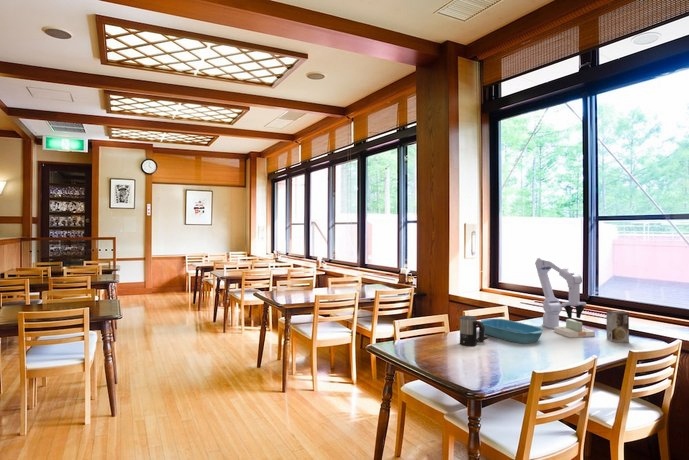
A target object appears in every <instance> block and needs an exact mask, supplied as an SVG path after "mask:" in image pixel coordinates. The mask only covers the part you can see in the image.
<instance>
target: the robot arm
mask: <svg viewBox="0 0 689 460" xmlns="http://www.w3.org/2000/svg"><path fill="white" fill-rule="evenodd" d="M534 265H535V268H536V270H537V271H536V272H537V276H538V278H539V281H540V284H541V287H542V291H543V295H544V298H545V299H544V300H543V301H542V304H543V305H542V308H543V311H544V313H543V315H542V324H541V326H543V327H545V328H547V329H550V330H552V329H553V330H554V327H560V314H561V312H562V311H563V308H564V310H565V312H566V315H567V319H572V316H573V310H574V307H575V312H576V313H575V315H576V316H575V317H576V318H577V319H581V315H582V313H583V311H584V309H585V306H586V307H587V302H585V301H580V296H581V295H580V293H581V291H580V289H581V288H580V285H581V284H582V282H583V278H582V276H581V275H580V274H575V272H572V271H571V270H570V269H569V268H567V267H562V266H561V265H559V263H558V262H556V260H555V259H554V258H553V257H538V258H536V261H535V264H534ZM551 269H553V270H555V272H557V273H558V275H559V277H561V278H562V279H564V280H565V281H566V283H567V287H568V301H566V302H565V301H564V302H561V303H560V300H559V299H558V298H557V297H555V295H554V290H553V288H552V285H551V282H550V278H549V275H548V273H549V272H550V271H551Z"/></svg>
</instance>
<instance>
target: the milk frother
mask: <svg viewBox="0 0 689 460" xmlns="http://www.w3.org/2000/svg"><path fill="white" fill-rule="evenodd" d="M480 321H481V320H480ZM480 321H479V320H477V317H476V316H473V315H461V316H459V345H460V346H465V347H475V346H477V345H478V343H484V341H487V340H488V339H489V336H485V333H484V330H485V327H484V324H483V323H482V322H480ZM477 328H478V329H477ZM477 335H478V337H477Z"/></svg>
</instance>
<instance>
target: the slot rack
mask: <svg viewBox="0 0 689 460" xmlns="http://www.w3.org/2000/svg"><path fill="white" fill-rule="evenodd" d="M553 332H554V333H556V334H559V335H561V336H564V337H567V338H569V339H570V338H585V337H586V338H587V337H595V336H596V335H595V334H596V333H595V332H596V331H594V330H591V329H589V328H586V327H583V326H582V331H579V332H577V331H574V330H571V329H568V328H566V326H559V327H554V329H553Z"/></svg>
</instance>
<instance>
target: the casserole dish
mask: <svg viewBox="0 0 689 460" xmlns="http://www.w3.org/2000/svg"><path fill="white" fill-rule="evenodd" d="M480 322H482V323H483V324H484V327H485V330H484V335H487V336H490V337H493V338H497V339H502V340H504V341H509V342H513V343H517V344H530V343H533V342H536V341H538V340H540V338H541V336H542V333H543V331H544V329H543V328H542V327H539V326H535V325H532V324H531V325H530V324H527V323H524V322H523V323H522V322H519V321H513V320H510V319H503V318H484V319H481V320H480Z"/></svg>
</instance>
